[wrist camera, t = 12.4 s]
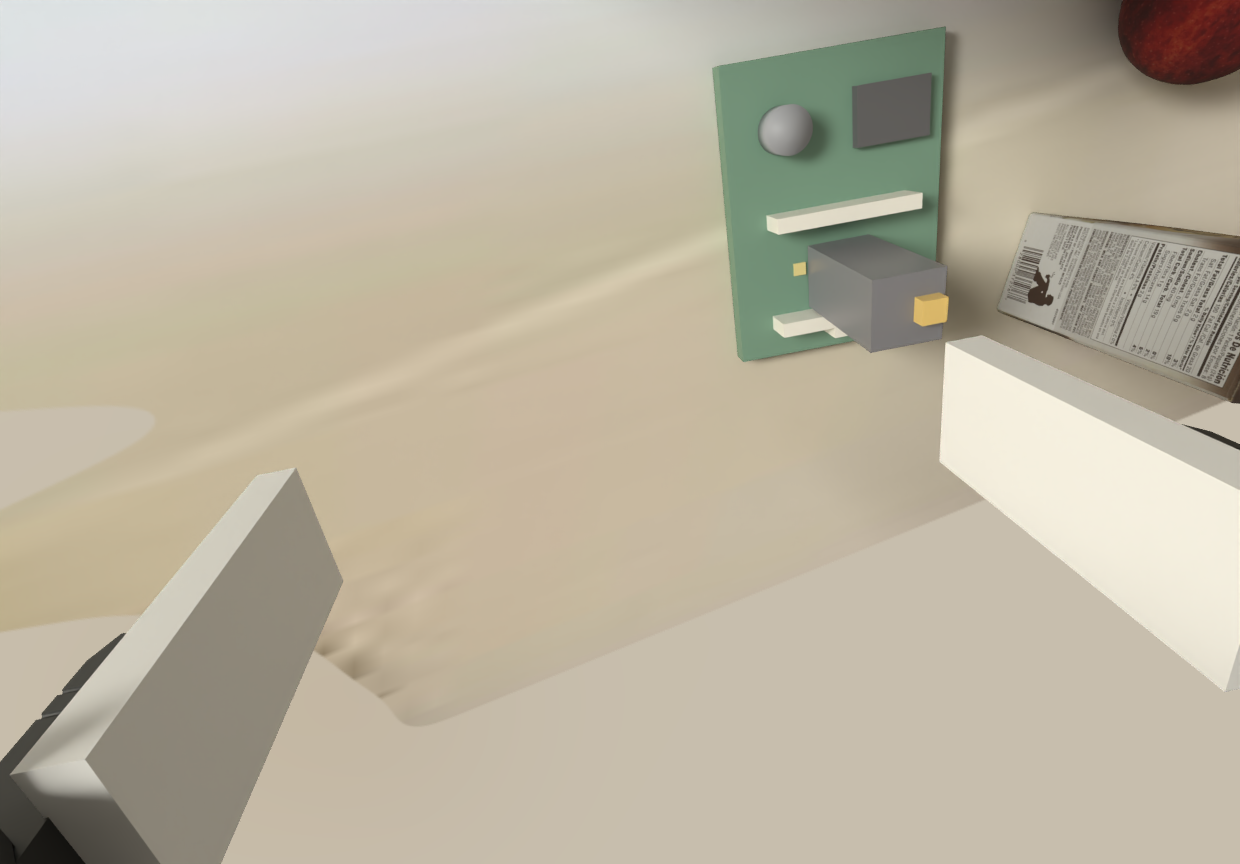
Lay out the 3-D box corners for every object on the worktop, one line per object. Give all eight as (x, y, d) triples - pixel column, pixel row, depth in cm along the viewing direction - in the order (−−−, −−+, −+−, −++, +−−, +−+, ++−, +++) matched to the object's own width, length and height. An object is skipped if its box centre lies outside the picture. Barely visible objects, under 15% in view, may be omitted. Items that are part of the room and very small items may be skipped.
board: (712, 68, 35) (728, 62, 32) (933, 29, 35) (967, 20, 32) (737, 356, 41) (752, 371, 39) (922, 320, 42) (950, 333, 39)
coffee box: (1159, 223, 41) (1504, 271, 26) (1116, 325, 44) (1410, 420, 29) (1027, 208, 40) (1314, 249, 25) (991, 313, 42) (1233, 407, 28)
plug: (807, 245, 38) (880, 284, 30) (868, 234, 38) (957, 270, 30) (808, 306, 39) (878, 358, 32) (867, 295, 39) (951, 344, 32)
